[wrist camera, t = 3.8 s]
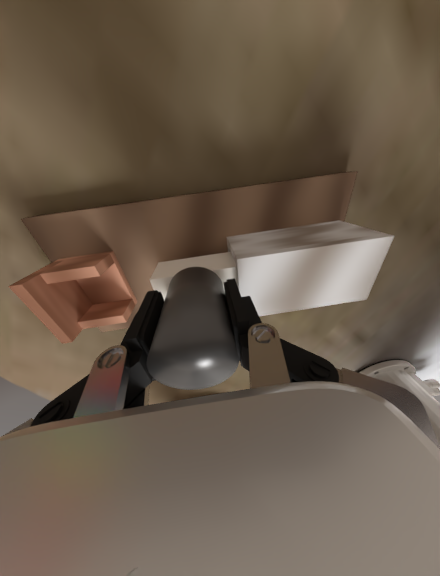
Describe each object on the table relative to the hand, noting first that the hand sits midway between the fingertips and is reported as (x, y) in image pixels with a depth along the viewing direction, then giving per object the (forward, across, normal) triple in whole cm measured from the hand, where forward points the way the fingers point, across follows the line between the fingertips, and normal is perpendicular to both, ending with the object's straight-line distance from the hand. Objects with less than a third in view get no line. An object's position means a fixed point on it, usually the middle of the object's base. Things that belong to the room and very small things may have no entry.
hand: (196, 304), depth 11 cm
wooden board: (+7, -1, 0) cm, 7 cm away
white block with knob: (+5, -4, 0) cm, 6 cm away
